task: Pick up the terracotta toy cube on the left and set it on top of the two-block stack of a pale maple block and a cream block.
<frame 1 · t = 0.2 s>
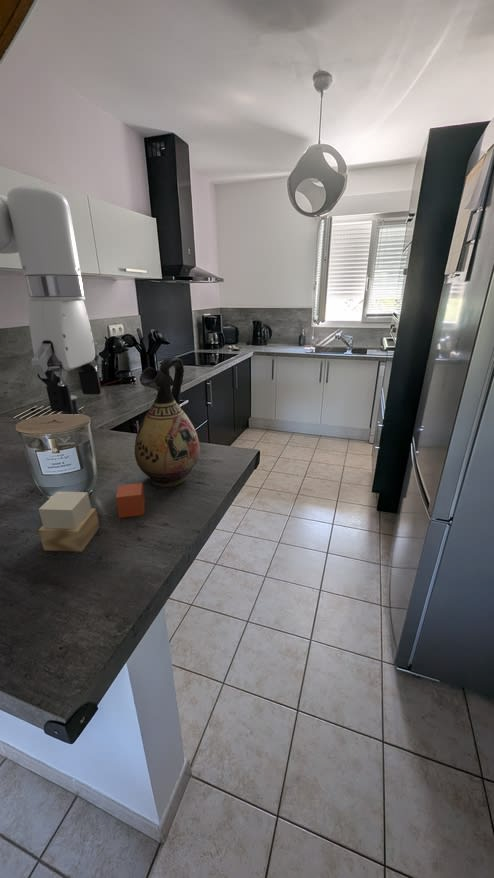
hand: (78, 401, 59), 27 cm above the counter, tool pointing down, fingers open, 9 cm apart
ceramic jug: (172, 477, 90), on the counter
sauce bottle: (82, 470, 94), on the counter
toy cube: (132, 509, 77), on the counter
base block: (73, 538, 68), on the counter, touching middle block
middle block: (68, 518, 66), point 4 cm above the counter, touching base block
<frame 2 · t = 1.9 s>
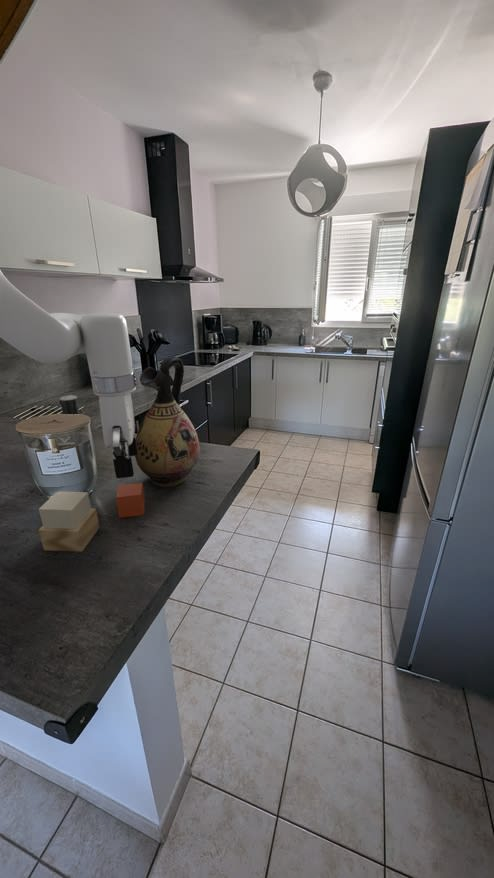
hand: (127, 465, 73), 11 cm above the counter, tool pointing down, fingers open, 9 cm apart
nothing on the counter moved.
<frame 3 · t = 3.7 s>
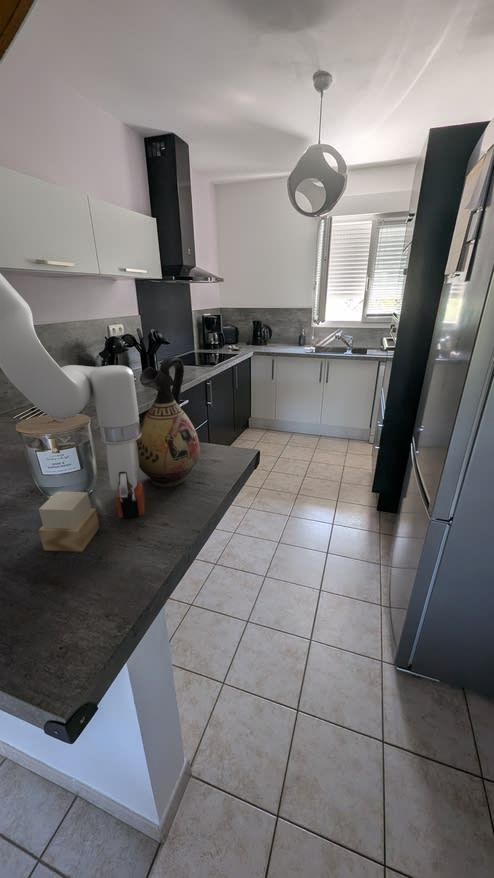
hand: (132, 508, 76), 0 cm above the counter, tool pointing down, fingers closed on toy cube, 5 cm apart
toy cube: (132, 509, 77), on the counter, touching gripper
everything else where it was.
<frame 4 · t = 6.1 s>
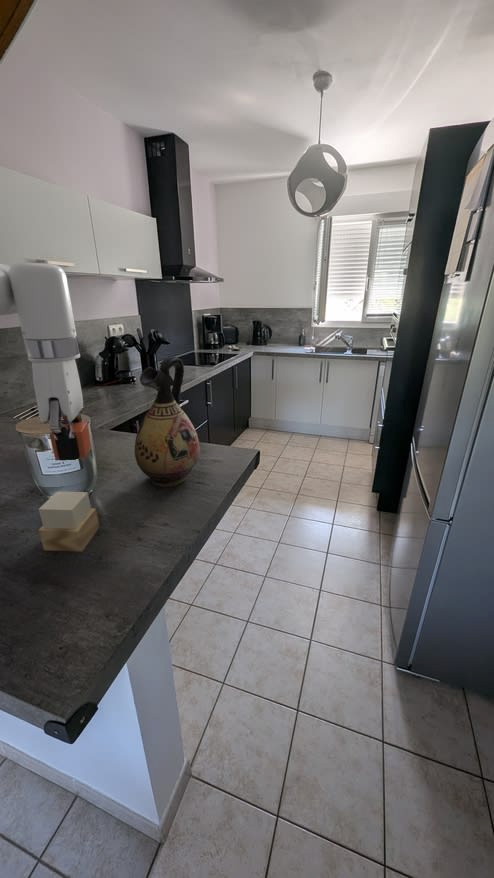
hand: (73, 451, 64), 17 cm above the counter, tool pointing down, fingers closed on toy cube, 5 cm apart
toy cube: (74, 453, 64), point 17 cm above the counter, touching gripper
everything else where it was.
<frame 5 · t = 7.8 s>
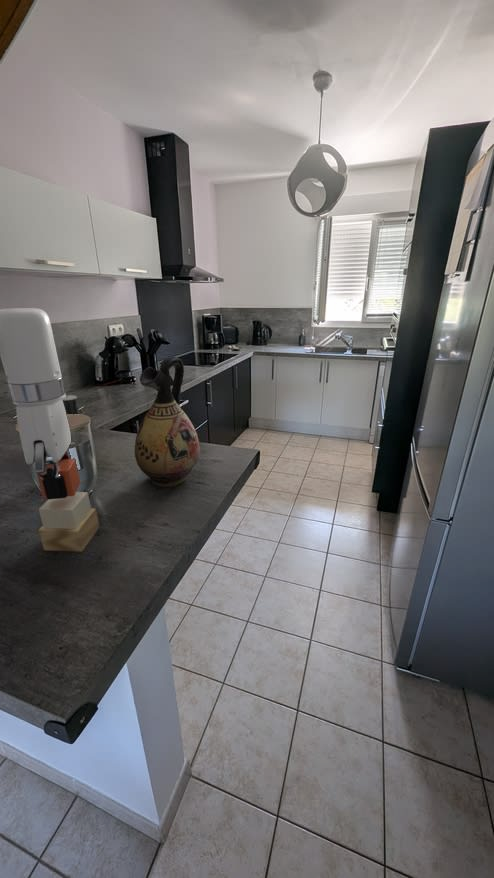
hand: (62, 488, 64), 11 cm above the counter, tool pointing down, fingers closed on toy cube, 5 cm apart
toy cube: (62, 490, 64), point 11 cm above the counter, touching gripper
everything else where it was.
when the fingers open (9 cm above the counter, at t = 8.9 s): toy cube stays where it is, resting on middle block.
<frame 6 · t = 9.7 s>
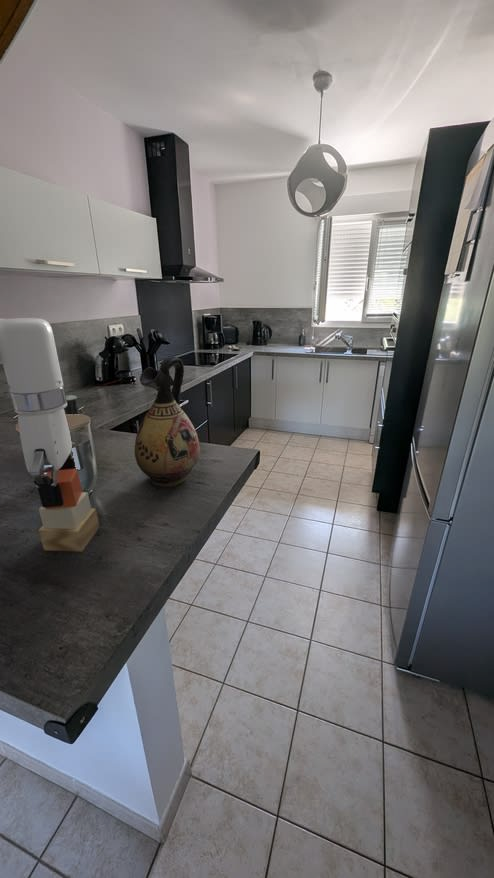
hand: (61, 491, 64), 10 cm above the counter, tool pointing down, fingers open, 9 cm apart
toy cube: (64, 500, 65), point 8 cm above the counter, touching middle block
middle block: (68, 518, 66), point 4 cm above the counter, touching base block, toy cube
everything else where it was.
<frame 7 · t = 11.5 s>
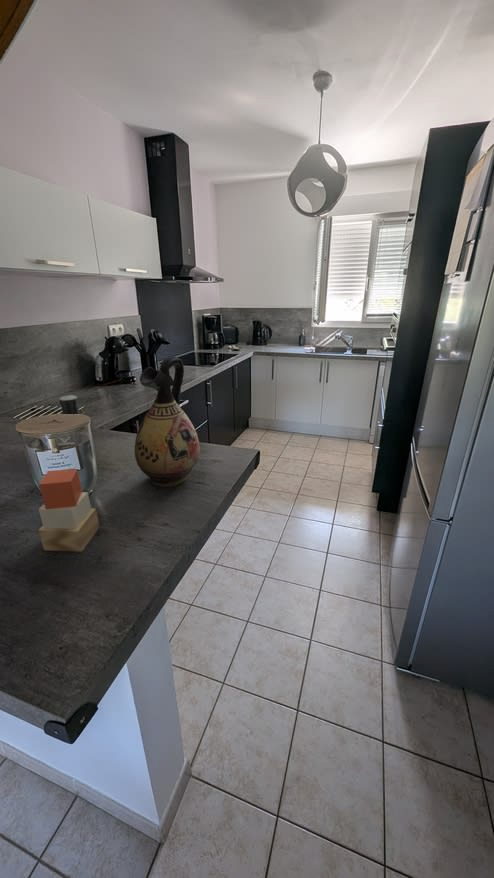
nothing on the counter moved.
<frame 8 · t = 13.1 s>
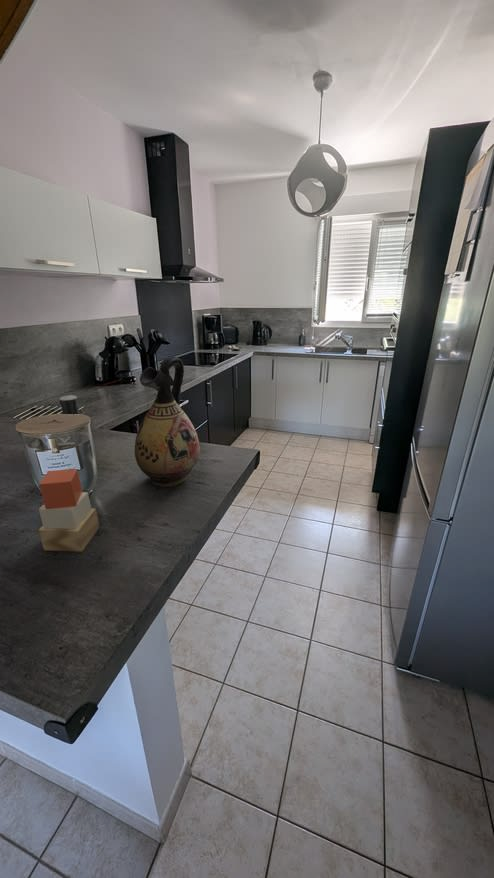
nothing on the counter moved.
at the end: toy cube 0.1 cm off-centre on the base block, point 8.5 cm above the base block's base; toy cube tilted 0°; middle block moved 0.0 cm from its start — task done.
